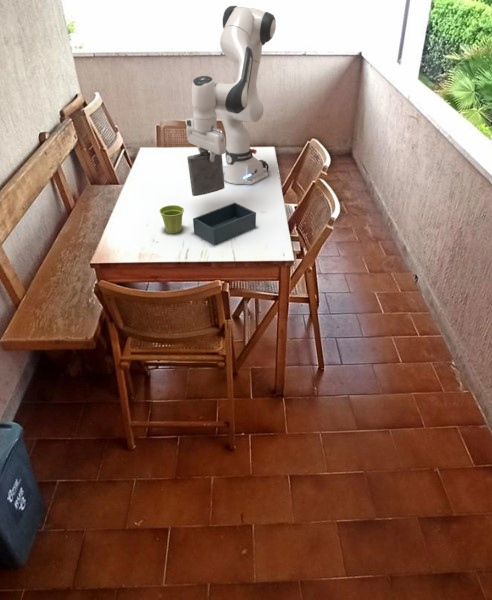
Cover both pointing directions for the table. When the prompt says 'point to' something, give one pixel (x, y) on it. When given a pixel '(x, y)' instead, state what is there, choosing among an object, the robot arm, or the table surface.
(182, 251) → the table surface
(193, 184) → the flask
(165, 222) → the plant pot
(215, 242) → the tote
